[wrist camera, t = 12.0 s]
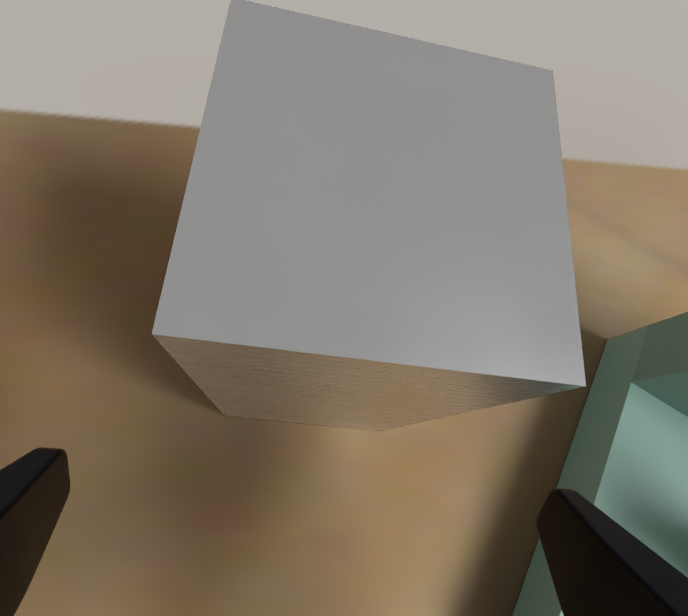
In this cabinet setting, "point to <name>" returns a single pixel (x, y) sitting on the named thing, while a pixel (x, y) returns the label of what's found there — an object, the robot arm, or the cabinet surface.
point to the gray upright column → (370, 230)
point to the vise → (630, 450)
